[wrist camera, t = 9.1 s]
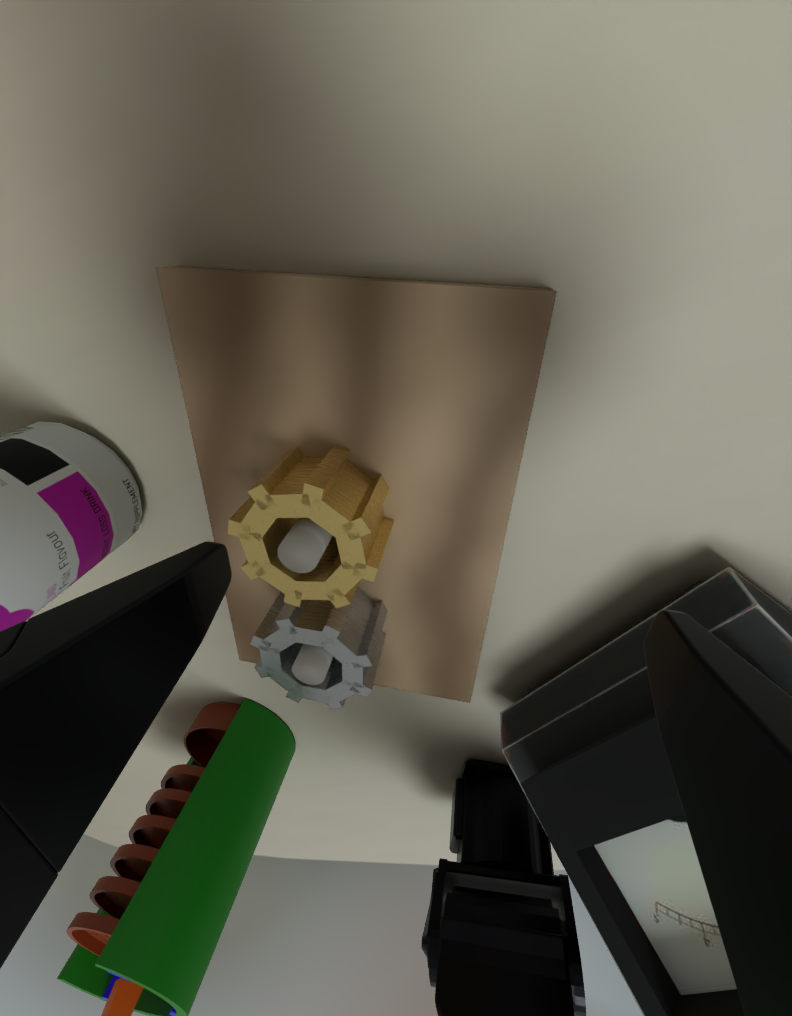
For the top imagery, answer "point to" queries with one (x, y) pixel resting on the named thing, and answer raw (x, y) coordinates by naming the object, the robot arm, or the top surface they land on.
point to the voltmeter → (639, 799)
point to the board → (368, 437)
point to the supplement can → (58, 513)
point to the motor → (181, 866)
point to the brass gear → (329, 503)
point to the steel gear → (323, 645)
